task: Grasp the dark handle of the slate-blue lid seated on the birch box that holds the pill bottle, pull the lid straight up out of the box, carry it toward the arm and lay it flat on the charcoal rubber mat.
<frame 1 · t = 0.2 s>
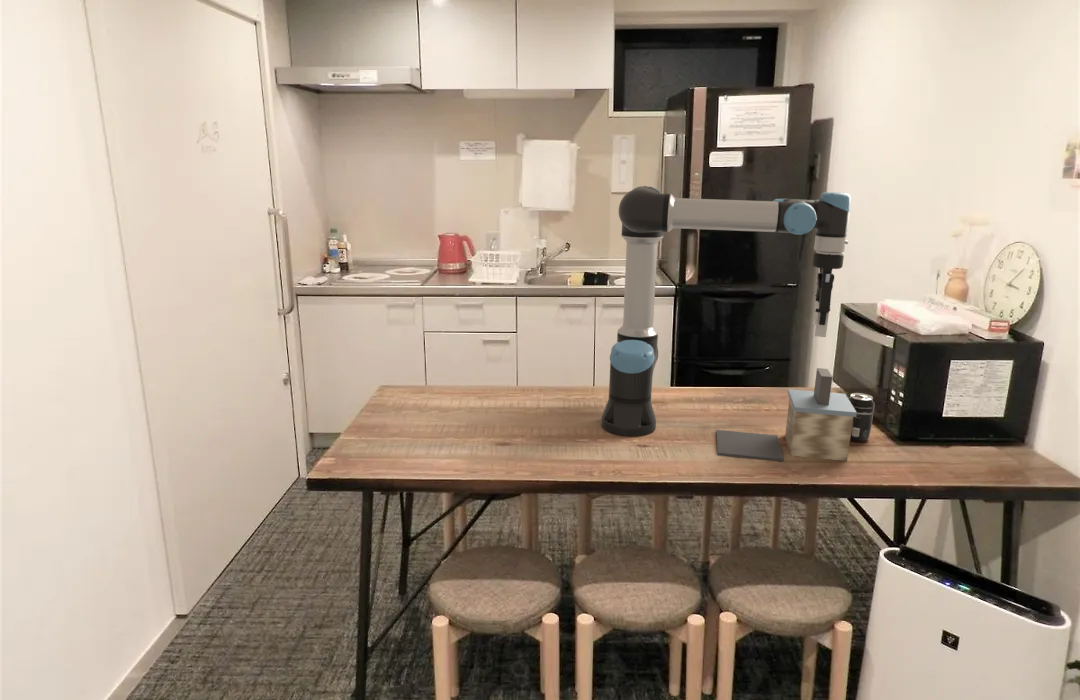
hand: (818, 330, 194), 28 cm above the table, fingers open, 13 cm apart
beverage can: (855, 438, 194), on the table
pill bottle: (814, 448, 187), resting in box
lid: (819, 409, 184), point 11 cm above the table, touching box
mat: (748, 445, 187), on the table
box: (814, 447, 187), on the table
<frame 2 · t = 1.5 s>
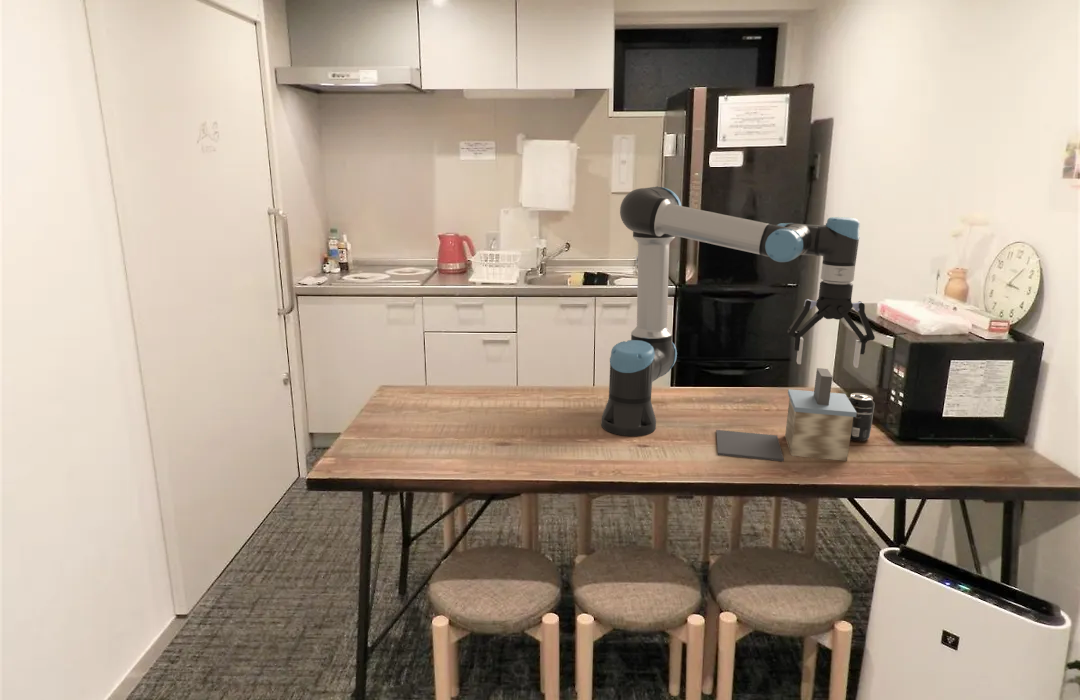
hand: (826, 364, 181), 23 cm above the table, fingers open, 13 cm apart
nothing on the table moved.
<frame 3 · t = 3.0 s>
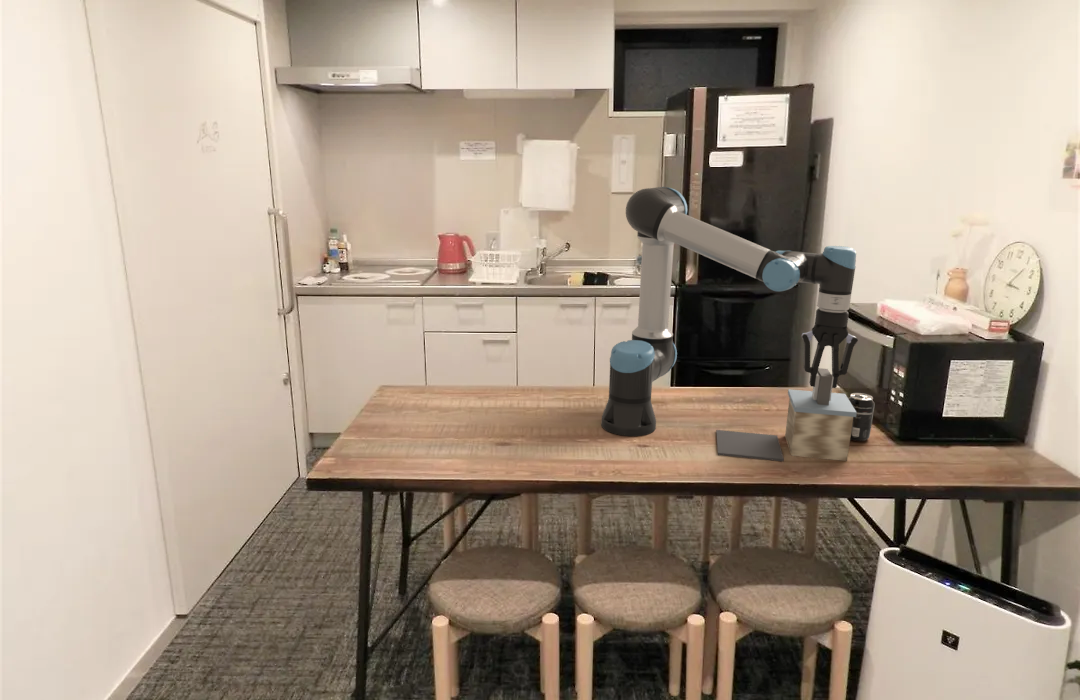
hand: (821, 398, 183), 14 cm above the table, fingers closed on lid, 3 cm apart
lid: (819, 409, 184), point 11 cm above the table, touching box, gripper
everything else where it was.
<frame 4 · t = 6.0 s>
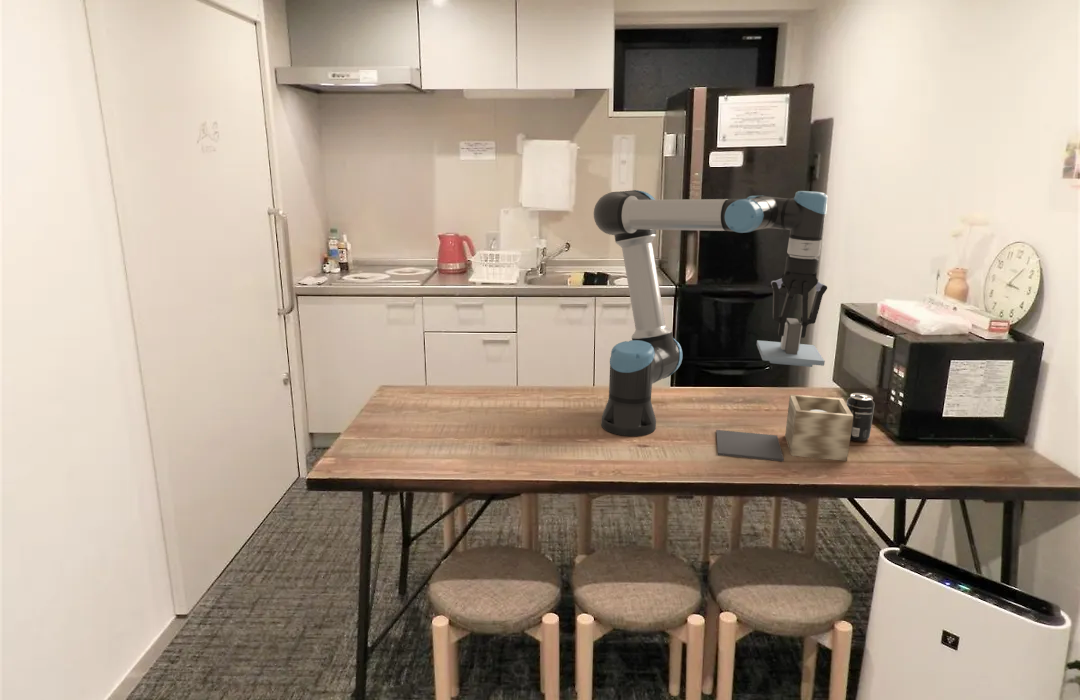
hand: (789, 348, 180), 27 cm above the table, fingers closed on lid, 3 cm apart
lid: (788, 359, 181), point 24 cm above the table, touching gripper
everything else where it was.
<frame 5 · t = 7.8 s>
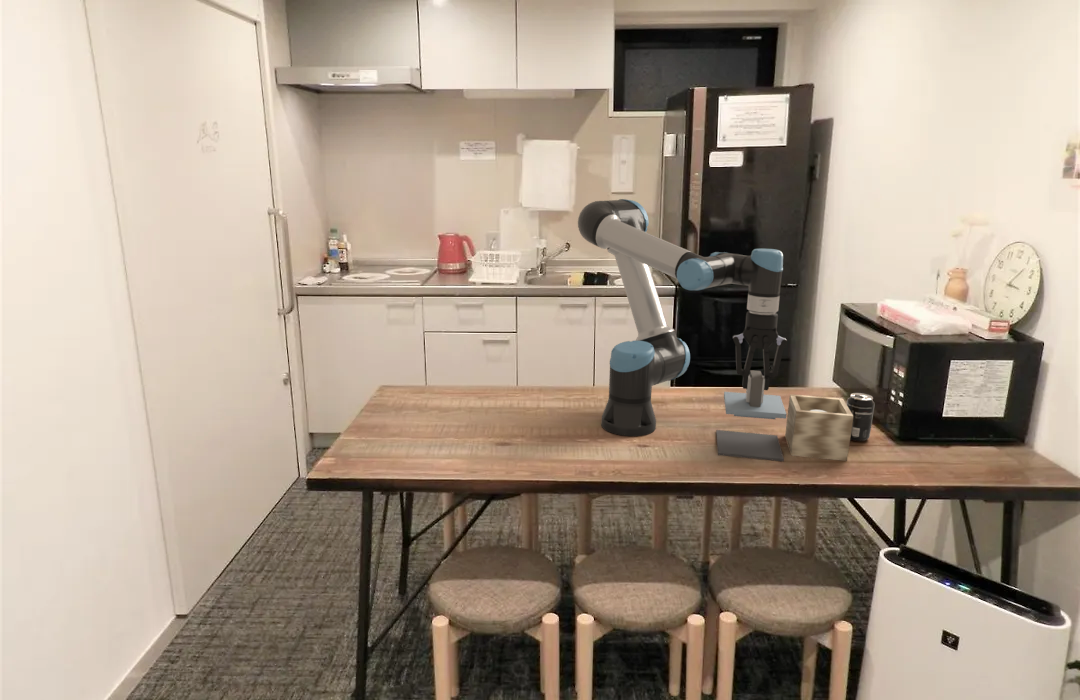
hand: (754, 400, 184), 13 cm above the table, fingers closed on lid, 3 cm apart
lid: (753, 411, 184), point 10 cm above the table, touching gripper
everything else where it was.
when the fingers open (5 cm above the table, at t = 9.1 s): lid drops 2 cm, resting on mat.
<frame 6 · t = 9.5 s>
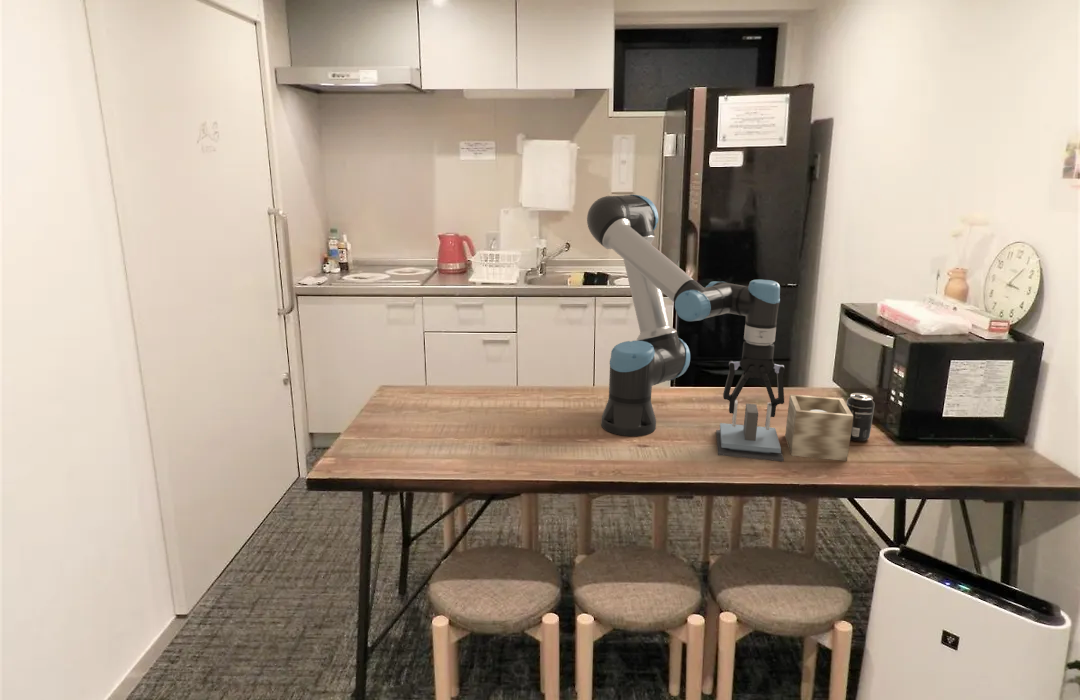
hand: (750, 426, 186), 5 cm above the table, fingers open, 8 cm apart
lid: (748, 443, 187), point 1 cm above the table, touching mat
everything else where it was.
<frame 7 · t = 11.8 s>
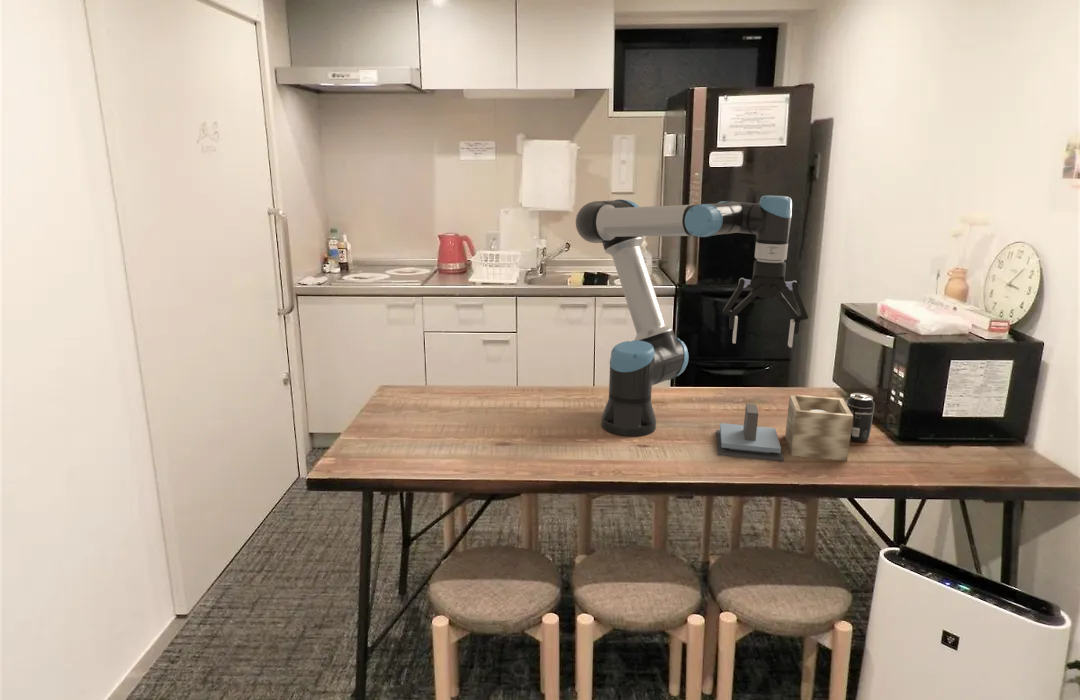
hand: (761, 344, 180), 28 cm above the table, fingers open, 13 cm apart
nothing on the table moved.
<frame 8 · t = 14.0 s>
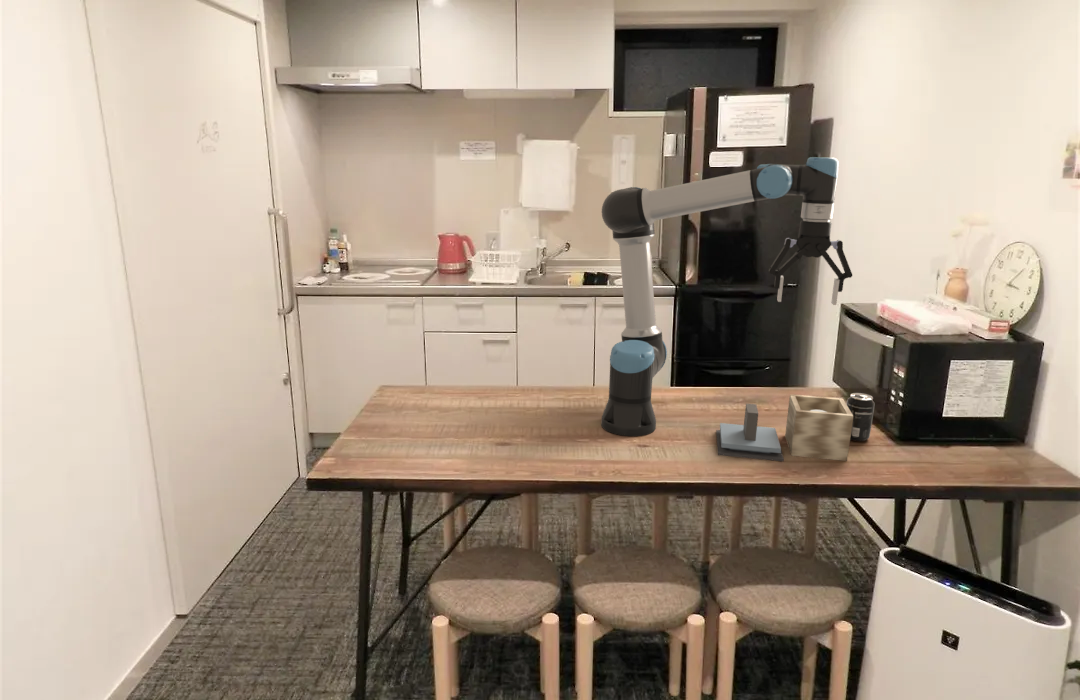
hand: (806, 302, 186), 37 cm above the table, fingers open, 13 cm apart
nothing on the table moved.
at the end: lid inside the target area on the mat (0.1 cm from its centre), point 0.6 cm above the mat's base; lid tilted 0°; the gripper is holding nothing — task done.
